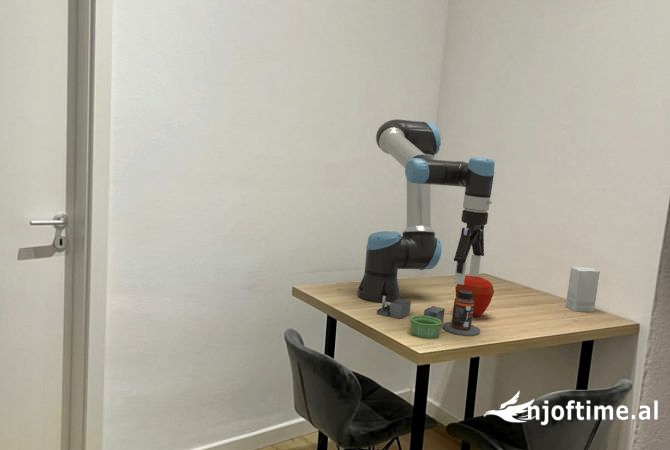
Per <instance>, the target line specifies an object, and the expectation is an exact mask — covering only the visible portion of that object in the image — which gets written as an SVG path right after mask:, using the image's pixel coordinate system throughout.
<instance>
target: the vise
mask: <svg viewBox="0 0 670 450" xmlns="http://www.w3.org/2000/svg"><path fill="white" fill-rule="evenodd" d="M385 298H386V296H383V300H382V302H381V303H382V304H381V308H379V309H377V310H376V315H380V316H384V317H393V318H396V319H399V320H400V319H403V318H406V317H407V316H410V313H411V306H412V305H411V303H412V301H411V300H408V299H404V298H401V297H400V298H399V299H397V300H395V301H392V302H387V301H385ZM445 311H446V309H445V308H444V307H440V306H434V305H432V306H430V307H428V308H426V309H424V310H423V316H430V317H434V318H437V319H439V320H441V324H444V317H445Z"/></svg>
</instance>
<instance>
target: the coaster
mask: <svg viewBox="0 0 670 450" xmlns="http://www.w3.org/2000/svg"><path fill="white" fill-rule="evenodd" d="M451 324H452V321H447V322H445V323H443V324H442V325H443V326H442V329H443V330H444V331H445V332H447V333H450V334H451V335H457V336H461V337H475V336H479V335H480V333H481V329H480V328H479V327H478V326H476V325H473V324H471V328H470V329H469V330H460V329H456V328H454V327H452V325H451Z"/></svg>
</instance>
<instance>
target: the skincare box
mask: <svg viewBox="0 0 670 450" xmlns="http://www.w3.org/2000/svg"><path fill="white" fill-rule="evenodd" d="M600 273H601V271H600V270H599V269H596V268H593V267H591V266H589V267H587V266H585V267H584V266H582V267H581V266H571V267H570V271H569V280H568V285H567V286H568V288H567V295H566V301H565V308H567V309H569V310H570V311H573V312H575V313H576V312H580V313H581V312H582V313H583V312H584V313H585V312H586V313H587V312H588V313H594V312H595V308H596V300H597V293H598V287H599V279H600Z"/></svg>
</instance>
